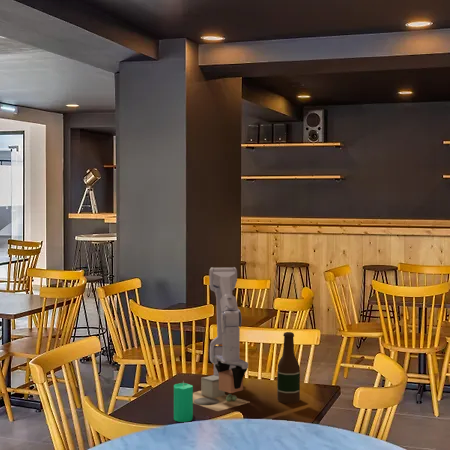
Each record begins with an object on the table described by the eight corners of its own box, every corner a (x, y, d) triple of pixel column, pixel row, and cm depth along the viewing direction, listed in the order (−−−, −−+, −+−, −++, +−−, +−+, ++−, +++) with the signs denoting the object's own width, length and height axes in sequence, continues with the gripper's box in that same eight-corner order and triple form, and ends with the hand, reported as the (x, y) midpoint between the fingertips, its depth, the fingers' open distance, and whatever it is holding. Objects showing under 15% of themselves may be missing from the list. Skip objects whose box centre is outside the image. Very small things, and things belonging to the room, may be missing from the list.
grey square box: (213, 391, 243) (213, 374, 243) (224, 395, 239) (224, 377, 239) (201, 394, 239) (201, 377, 239) (212, 398, 235) (212, 380, 235)
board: (207, 391, 246) (207, 388, 246) (250, 405, 230) (250, 401, 230) (174, 399, 236) (174, 396, 236) (217, 414, 220) (217, 410, 220)
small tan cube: (231, 386, 236) (231, 369, 236) (243, 389, 232) (243, 372, 232) (218, 389, 232) (218, 372, 232) (230, 393, 228) (230, 375, 228)
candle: (173, 416, 218) (173, 378, 218) (192, 415, 219) (192, 378, 218) (173, 422, 212) (173, 383, 212) (193, 421, 213) (193, 383, 212)
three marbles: (230, 398, 235) (230, 393, 235) (237, 400, 232) (237, 395, 232) (222, 400, 232) (222, 395, 232) (230, 402, 230) (230, 397, 230)
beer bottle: (302, 401, 235) (302, 331, 235) (297, 407, 228) (297, 335, 227) (280, 399, 238) (280, 329, 237) (274, 405, 230) (274, 334, 230)
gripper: (207, 344, 234) (207, 384, 235) (237, 351, 224) (237, 392, 224) (223, 341, 239) (222, 380, 240) (252, 348, 229) (252, 388, 229)
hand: (230, 386), depth 232 cm, fingers closed on small tan cube, 6 cm apart
